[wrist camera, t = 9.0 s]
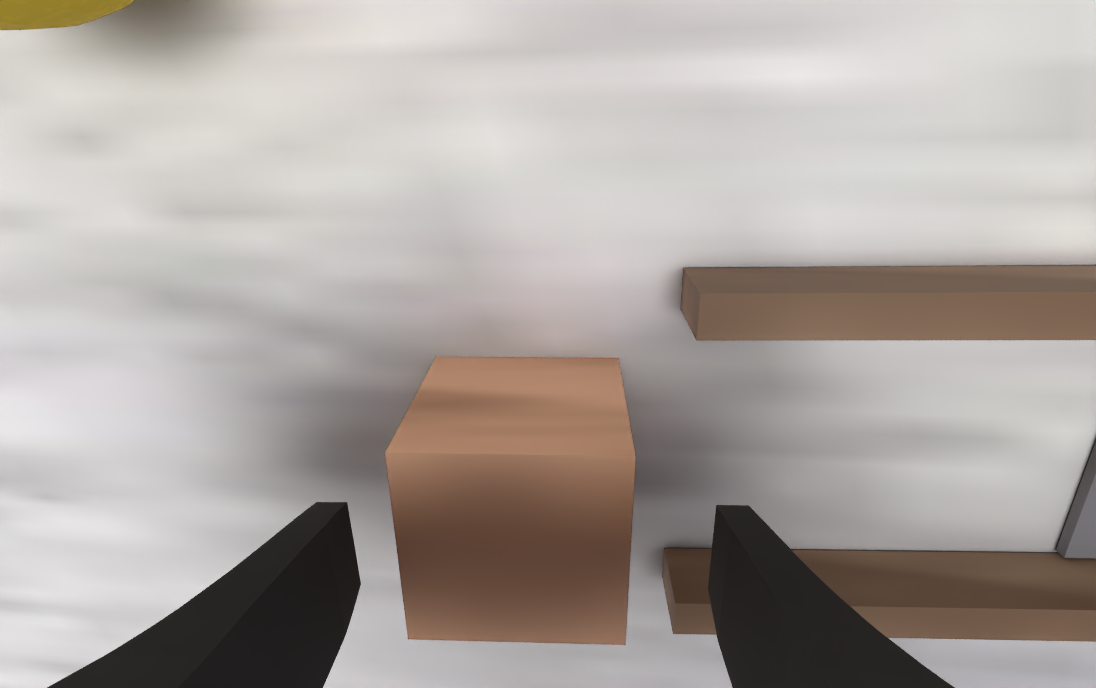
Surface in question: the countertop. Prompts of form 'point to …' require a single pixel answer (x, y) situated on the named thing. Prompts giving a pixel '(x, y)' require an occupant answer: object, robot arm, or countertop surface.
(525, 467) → the block
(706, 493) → the countertop surface
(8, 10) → the lemon
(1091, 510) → the channel
